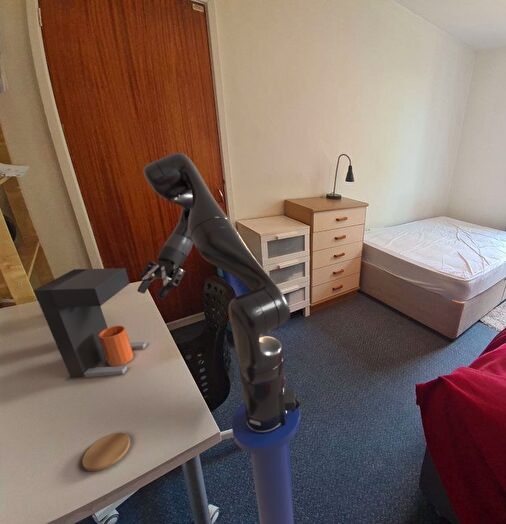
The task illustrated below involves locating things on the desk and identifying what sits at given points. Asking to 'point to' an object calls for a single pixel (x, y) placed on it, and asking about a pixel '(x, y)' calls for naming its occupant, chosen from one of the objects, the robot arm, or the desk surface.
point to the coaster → (106, 452)
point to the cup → (116, 345)
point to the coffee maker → (82, 317)
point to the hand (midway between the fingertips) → (150, 295)
